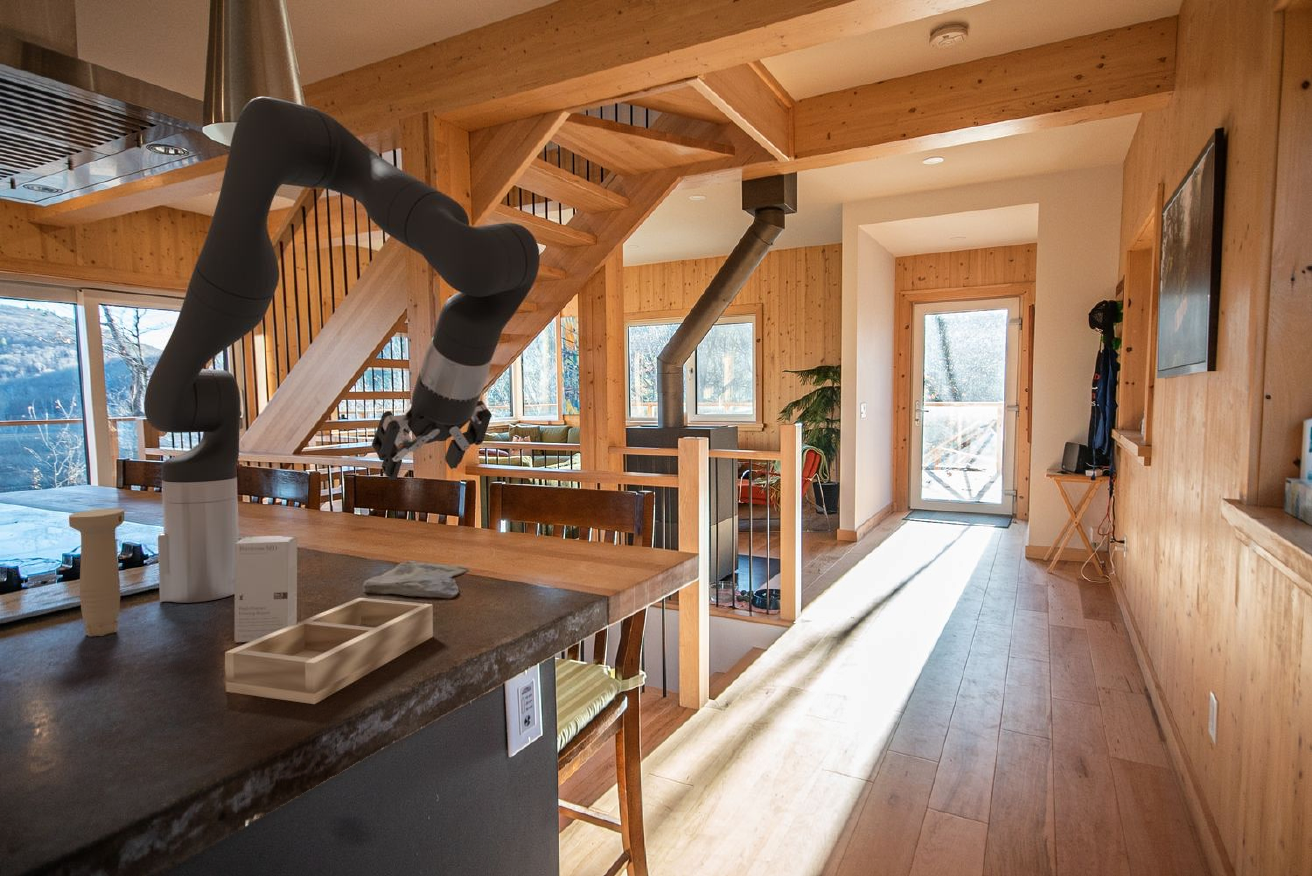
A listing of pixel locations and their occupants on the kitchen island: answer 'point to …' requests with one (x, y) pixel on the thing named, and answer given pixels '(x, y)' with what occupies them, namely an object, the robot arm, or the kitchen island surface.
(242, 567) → the skincare box
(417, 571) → the fossil rock
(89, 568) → the handle
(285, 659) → the tray
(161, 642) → the kitchen island surface
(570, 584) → the kitchen island surface
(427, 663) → the kitchen island surface
